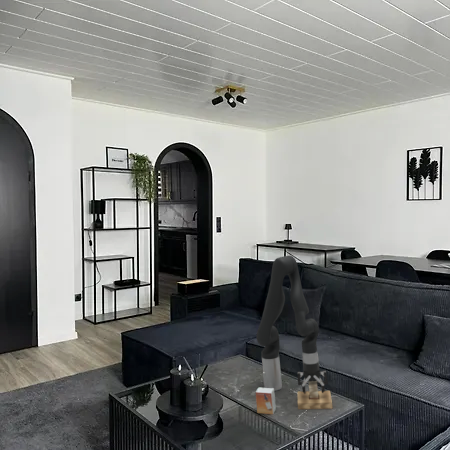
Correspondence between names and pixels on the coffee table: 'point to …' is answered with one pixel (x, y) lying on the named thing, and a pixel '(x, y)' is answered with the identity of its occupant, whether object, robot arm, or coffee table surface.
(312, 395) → the ash peg
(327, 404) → the oak board
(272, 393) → the small box
